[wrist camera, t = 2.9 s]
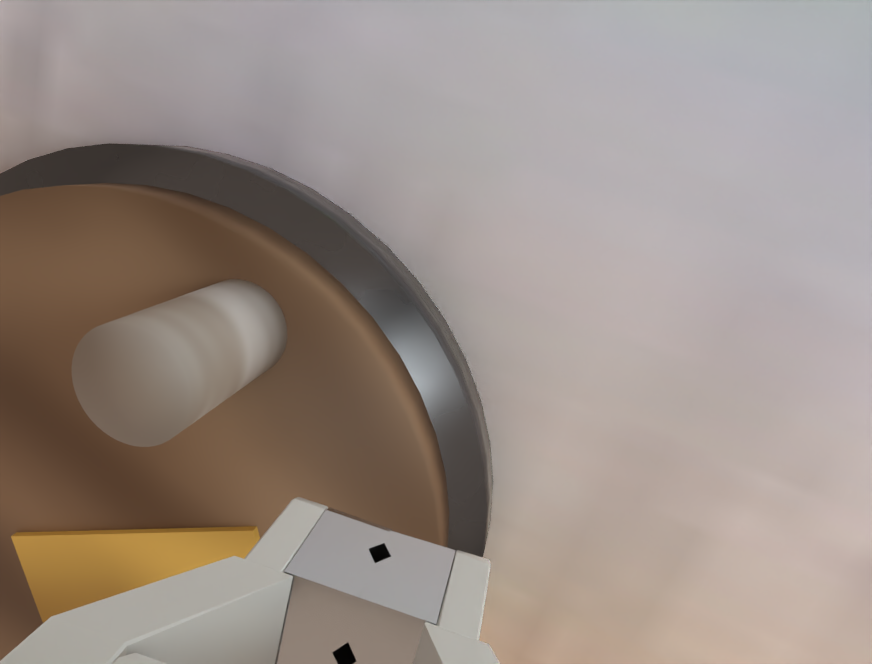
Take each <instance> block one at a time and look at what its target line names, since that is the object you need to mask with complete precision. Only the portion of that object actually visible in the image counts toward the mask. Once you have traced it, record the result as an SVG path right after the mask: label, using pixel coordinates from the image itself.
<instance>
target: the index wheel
mask: <svg viewBox="0 0 872 664" xmlns="http://www.w3.org/2000/svg"><path fill="white" fill-rule="evenodd" d="M297 497H301V498H304V499H307V500H310V501H313V502H316V503H319V504H322V505H325V506H327V507H328V508H330V507H331V508H333V509H336V510H339V511H342V512H345V513H347V514H350V515H353V516H356V517H359V518H361V519H364V520H367V521H370V522H373V523H376V524H378V525H381V526H384V527H387V528H390V529H392V530H393V531H396V532H399V533H402V534H405V535H409V536H412V537H415V538H418V539H421V540H425V541H428V542H431V543H434V544H437V545H440V546H444V547H447V548H448V532H449V503H448V493H447V483H446V473H445V469H444V465H443V461H442V457H441V453H440V448H439V444H438V440H437V436H436V433H435V430H434V427H433V425H432V422H431V420H430V417H429V414H428V412H427V409H426V407H425V404H424V401H423V399H422V396H421V394H420V392H419V390H418V388H417V386H416V385H415V383H414V381H413V379H412V377H411V375H410V373H409V372H408V370H407V368H406V366H405V364H404V362H403V360H402V359H401V357H400V355H399V354H398V352H397V351H396V349H395V348H394V346H393V345H392V344H391V342H390V341H389V339H388V338H387V337H386V335H385V334H384V332H383V331H382V330H381V328H380V327H379V325H378V324H377V322H376V321H375V320H374V318H373V317H372V316H371V315H370V314H369V313H368V312H367V310H366V309H365V308H364V307H363V306H362V305H361V304H360V303H359V302H358V301H357V299H356V298H355V297H354V296H353V295H352V294H351V293H350V292H349V291H348V290H347V288H346V287H345V286H344V285H343V284H342V283H341V282H340V281H338V280H337V279H336V278H335V277H334V276H333V275H332V274H330V273H329V272H328V271H327V270H326V269H325V268H323V267H322V266H321V265H320V264H319V263H318V262H317V261H315V260H314V259H313V258H312V257H311V256H310V255H308V254H307V253H306V252H304V251H303V250H301V249H300V248H298V247H297V246H295V245H294V244H292V243H291V242H289V241H288V240H287V239H285V238H284V237H282V236H281V235H279V234H278V233H276V232H275V231H273V230H272V229H270V228H269V227H267V226H265V225H263V224H261V223H259V222H257V221H255V220H253V219H251V218H249V217H247V216H245V215H243V214H241V213H239V212H237V211H235V210H233V209H231V208H229V207H226V206H223V205H220V204H217V203H214V202H212V201H209V200H206V199H203V198H200V197H197V196H194V195H191V194H189V193H184V192H179V191H174V190H169V189H164V188H159V187H154V186H149V185H137V184H118V183H98V184H80V185H63V186H53V187H44V188H34V189H24V190H20V191H16V192H13V193H9V194H5V195H2V196H0V661H1V660H2V659H3V658H4V657H5V656H6V655H8V654H9V653H10V652H11V651H12V650H13V649H14V648H16V647H17V646H18V645H19V644H20V643H21V642H22V641H24V640H25V639H26V638H27V637H28V636H29V635H30V634H32V633H33V632H34V631H35V630H36V629H37V628H38V627H40V626H41V625H42V624H43V623H44V622H45V621H47V620H48V619H49V618H50V617H51V616H54V615H57V614H60V613H63V612H66V611H69V610H72V609H75V608H78V607H81V606H84V605H87V604H90V603H93V602H96V601H99V600H102V599H105V598H108V597H111V596H114V595H117V594H120V593H123V592H126V591H129V590H133V589H136V588H139V587H142V586H145V585H148V584H151V583H154V582H157V581H160V580H163V579H166V578H169V577H172V576H175V575H178V574H181V573H184V572H187V571H190V570H193V569H196V568H199V567H202V566H205V565H208V564H211V563H214V562H217V561H220V560H223V559H226V558H229V557H232V556H237V557H240V558H243V559H244V558H245V557H246V556H247V554H248V553H249V552H250V551H251V549H252V548H253V547H254V546H255V544H256V543H257V542H258V541H259V540H260V538H261V537H262V536H263V535H264V533H265V532H266V531H267V530H268V528H269V527H270V526H271V525H272V524H273V522H274V521H275V520H276V519H277V517H278V516H279V515H280V514H281V512H282V511H283V510H284V509H285V508H286V506H287V505H288V504H289V503H290V501H291V500H293V499H294V498H297Z"/></svg>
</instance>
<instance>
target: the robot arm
mask: <svg viewBox="0 0 872 664" xmlns="http://www.w3.org/2000/svg"><path fill="white" fill-rule="evenodd" d="M455 551H456V550H453V549H450V548H447V547H444V546H440V545H437V544H434V543H431V542H428V541H425V540H421V539H418V538H415V537H412V536H409V535H405V534H402V533H399V532H396V531H393V530H392V529H390V528H387V527H384V526H381V525H378V524H376V523H373V522H370V521H367V520H364V519H361V518H359V517H356V516H353V515H350V514H347V513H345V512H342V511H339V510H336V509H333V508H331V507H330V508H328V507H327V506H325V505H322V504H319V503H316V502H313V501H310V500H307V499H304V498H301V497H297V498H294V499H293V500H291V501H290V503H289V504H288V505H287V506H286V508H285V509H284V510H283V511H282V512H281V514H280V515H279V516H278V517H277V519H276V520H275V521H274V522H273V524H272V525H271V526H270V527H269V528H268V530H267V531H266V532H265V533H264V535H263V536H262V537H261V538H260V540H259V541H258V542H257V543H256V544H255V546H254V547H253V548H252V549H251V551H250V552H249V553H248V554H247V556H246V557H245V558H244V559H243V558H240V557H237V556H232V557H229V558H226V559H223V560H220V561H217V562H214V563H211V564H208V565H205V566H202V567H199V568H196V569H193V570H190V571H187V572H184V573H181V574H178V575H175V576H172V577H169V578H166V579H163V580H160V581H157V582H154V583H151V584H148V585H145V586H142V587H139V588H136V589H133V590H129V591H126V592H123V593H120V594H117V595H114V596H111V597H108V598H105V599H102V600H99V601H96V602H93V603H90V604H87V605H84V606H81V607H78V608H75V609H72V610H69V611H66V612H63V613H60V614H57V615H54V616H51V617H50V618H49V619H48V620H47V621H45V622H44V623H43V624H42V625H41V626H40V627H38V628H37V629H36V630H35V631H34V632H33V633H32V634H30V635H29V636H28V637H27V638H26V639H25V640H24V641H22V642H21V643H20V644H19V645H18V646H17V647H16V648H14V649H13V650H12V651H11V652H10V653H9V654H8V655H6V656H5V657H4V658H3V659H2V660H1V661H0V664H500V663H499V661H498V659H497V657H496V655H495V654H494V652H493V650H492V648H491V646H490V645H489V644H487V643H484V642H482V641H479V637H480V631H481V625H482V618H483V612H484V606H485V599H486V593H487V587H488V580H489V574H490V568H491V562H490V560H489V559H486V558H483V557H479V556H476V555H473V554H469V553H466V552H462V551H459V550H457V551H456V553H455Z"/></svg>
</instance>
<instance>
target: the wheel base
mask: <svg viewBox="0 0 872 664" xmlns="http://www.w3.org/2000/svg"><path fill="white" fill-rule="evenodd" d="M98 183H118V184H137V185H149V186H154V187H159V188H164V189H169V190H174V191H179V192H184V193H189V194H191V195H194V196H197V197H200V198H203V199H206V200H209V201H212V202H214V203H217V204H220V205H223V206H226V207H229V208H231V209H233V210H235V211H237V212H239V213H241V214H243V215H245V216H247V217H249V218H251V219H253V220H255V221H257V222H259V223H261V224H263V225H265V226H267V227H269V228H270V229H272V230H273V231H275V232H276V233H278V234H279V235H281V236H282V237H284V238H285V239H287V240H288V241H289V242H291V243H292V244H294V245H295V246H297V247H298V248H300V249H301V250H303V251H304V252H306V253H307V254H308V255H310V256H311V257H312V258H313V259H314V260H315V261H317V262H318V263H319V264H320V265H321V266H322V267H323V268H325V269H326V270H327V271H328V272H329V273H330V274H332V275H333V276H334V277H335V278H336V279H337V280H338V281H340V282H341V283H342V284H343V285H344V286H345V287H346V288H347V290H348V291H349V292H350V293H351V294H352V295H353V296H354V297H355V298H356V299H357V301H358V302H359V303H360V304H361V305H362V306H363V307H364V308H365V309H366V310H367V312H368V313H369V314H370V315H371V316H372V317H373V318H374V320H375V321H376V322H377V324H378V325H379V327H380V328H381V330H382V331H383V332H384V334H385V335H386V337H387V338H388V339H389V341H390V342H391V344H392V345H393V346H394V348H395V349H396V351H397V352H398V354H399V355H400V357H401V359H402V360H403V362H404V364H405V366H406V368H407V370H408V372H409V373H410V375H411V377H412V379H413V381H414V383H415V385H416V386H417V388H418V390H419V392H420V394H421V396H422V399H423V401H424V404H425V407H426V409H427V412H428V414H429V417H430V420H431V422H432V425H433V427H434V430H435V433H436V436H437V440H438V444H439V448H440V453H441V457H442V461H443V465H444V469H445V473H446V483H447V493H448V503H449V532H448V548H450V549H453V550H456V551H457V550H459V551H462V552H466V553H469V554H473V555H476V556H479V557H483V553H484V549H485V544H486V539H487V534H488V529H489V525H490V519H491V504H492V490H493V475H492V462H491V449H490V440H489V435H488V431H487V426H486V422H485V417H484V413H483V408H482V403H481V400H480V397H479V394H478V392H477V389H476V386H475V383H474V381H473V378H472V375H471V372H470V370H469V367H468V364H467V361H466V359H465V357H464V355H463V353H462V351H461V350H460V348H459V346H458V344H457V342H456V340H455V338H454V336H453V334H452V332H451V330H450V328H449V326H448V324H447V323H446V321H445V319H444V318H443V316H442V315H441V313H440V312H439V310H438V309H437V307H436V306H435V305H434V303H433V302H432V300H431V299H430V297H429V296H428V294H427V293H426V292H425V290H424V289H423V287H422V286H421V284H420V283H419V281H418V280H417V279H416V278H415V277H414V276H413V275H412V274H411V273H410V271H409V270H408V269H407V268H406V267H405V266H404V265H403V264H402V262H401V261H400V260H399V259H398V258H397V257H396V256H395V255H394V254H393V252H392V251H391V250H390V249H389V248H388V247H387V246H386V245H385V244H384V243H383V242H382V241H380V240H379V239H378V238H377V237H376V236H375V235H373V234H372V233H371V232H370V231H369V230H368V229H367V228H365V227H364V226H363V225H362V224H361V223H360V222H359V221H357V220H356V219H355V218H354V217H353V216H352V215H350V214H349V213H347V212H346V211H344V210H343V209H341V208H340V207H338V206H337V205H335V204H334V203H332V202H331V201H329V200H328V199H326V198H325V197H323V196H322V195H320V194H319V193H317V192H316V191H314V190H313V189H311V188H309V187H307V186H305V185H303V184H301V183H299V182H297V181H295V180H293V179H291V178H289V177H287V176H285V175H283V174H281V173H279V172H277V171H275V170H273V169H271V168H268V167H265V166H262V165H259V164H256V163H253V162H250V161H247V160H244V159H241V158H238V157H235V156H232V155H229V154H225V153H219V152H214V151H209V150H203V149H198V148H193V147H188V146H165V145H138V144H102V145H93V146H85V147H77V148H68V149H64V150H61V151H57V152H54V153H50V154H47V155H44V156H40V157H37V158H33V159H30V160H27V161H25V162H23V163H21V164H19V165H17V166H15V167H13V168H11V169H9V170H7V171H5V172H3V173H1V174H0V196H2V195H5V194H9V193H13V192H16V191H20V190H24V189H34V188H44V187H53V186H63V185H80V184H98ZM456 551H455V553H456Z"/></svg>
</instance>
